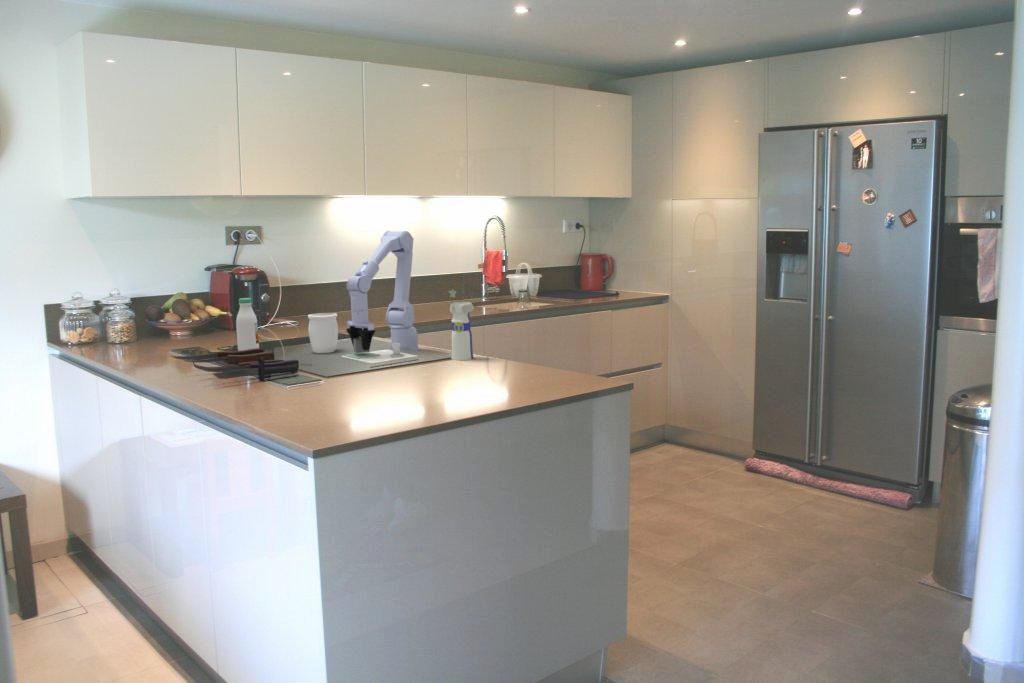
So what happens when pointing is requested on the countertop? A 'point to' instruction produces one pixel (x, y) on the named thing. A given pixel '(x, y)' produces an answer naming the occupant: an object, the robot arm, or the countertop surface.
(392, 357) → the mount board
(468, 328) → the white spray bottle
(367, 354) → the pad
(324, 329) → the jar
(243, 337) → the milk bottle
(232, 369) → the knife set
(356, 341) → the gray handled box
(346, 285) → the robot arm
